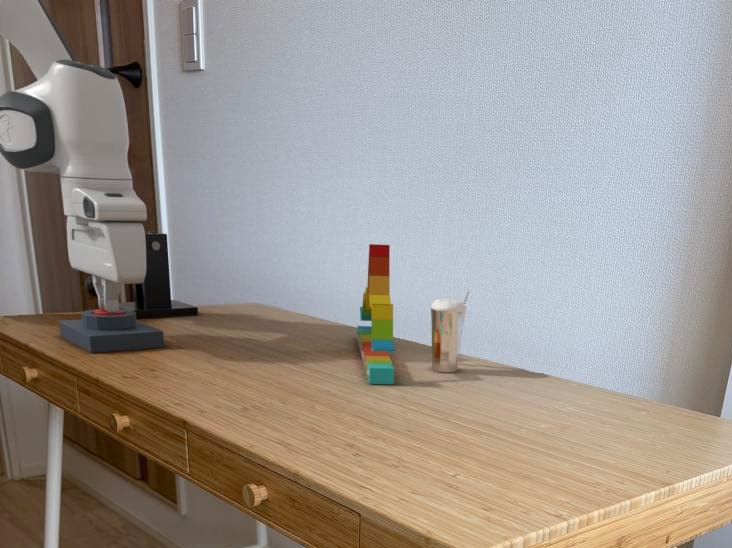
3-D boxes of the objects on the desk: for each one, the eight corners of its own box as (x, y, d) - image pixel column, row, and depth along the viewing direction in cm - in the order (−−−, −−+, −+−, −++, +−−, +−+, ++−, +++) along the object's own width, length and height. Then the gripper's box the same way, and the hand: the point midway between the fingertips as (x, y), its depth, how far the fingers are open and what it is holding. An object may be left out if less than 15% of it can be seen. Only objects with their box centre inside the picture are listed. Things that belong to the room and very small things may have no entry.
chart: (355, 338, 127) (357, 234, 121) (376, 339, 128) (379, 235, 122) (367, 384, 100) (371, 252, 94) (393, 384, 100) (399, 253, 94)
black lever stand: (128, 319, 134) (121, 234, 129) (109, 311, 140) (101, 230, 135) (198, 315, 141) (194, 234, 136) (176, 307, 147) (171, 230, 142)
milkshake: (473, 371, 109) (479, 293, 105) (439, 374, 106) (443, 294, 102) (454, 365, 112) (460, 288, 108) (420, 367, 110) (425, 289, 106)
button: (90, 322, 116) (89, 309, 115) (119, 320, 118) (117, 308, 117) (100, 327, 113) (99, 313, 112) (129, 325, 115) (128, 312, 114)
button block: (60, 336, 118) (57, 307, 116) (129, 331, 124) (127, 304, 122) (91, 353, 109) (88, 322, 107) (164, 347, 114) (162, 317, 113)
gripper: (50, 198, 115) (62, 301, 120) (101, 206, 100) (112, 323, 105) (96, 199, 118) (105, 299, 124) (151, 207, 104) (160, 320, 109)
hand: (109, 310), depth 114 cm, fingers closed, pressing on button
